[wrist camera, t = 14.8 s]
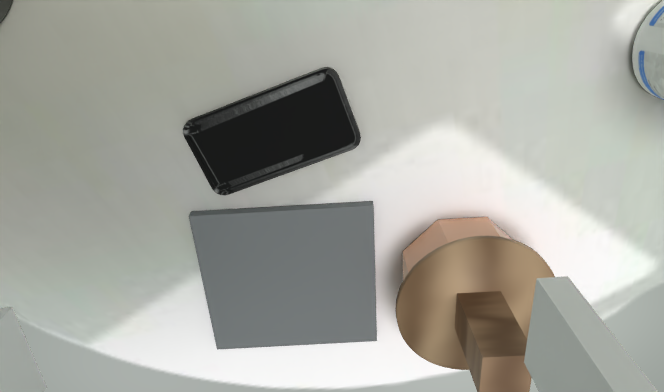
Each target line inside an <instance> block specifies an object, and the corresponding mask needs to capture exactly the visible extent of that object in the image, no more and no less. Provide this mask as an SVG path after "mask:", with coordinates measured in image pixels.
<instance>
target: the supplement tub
mask: <svg viewBox="0 0 664 392" xmlns="http://www.w3.org/2000/svg"><path fill="white" fill-rule="evenodd" d="M632 62H633V69H634V73H635V76H636V78H637V80H638V82H639V83H640V85H641V86H642V87H643V88H644V89H645V90H646V91H647V92H649V93H650V94H652V95H653V96H655V97H657V98H660V99H663V100H664V0H663V1H661V2H660V3H659V4H658V5H657V6H656V7H655V8H654V9H653V10H652V11H651V12H650V13H649V15H648V16H647V17H646V19H645V20H644V22H643V23H642V25H641V27H640V29H639V31H638V33H637V35H636V38H635V41H634V45H633V53H632Z"/></svg>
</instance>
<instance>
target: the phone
mask: <svg viewBox="0 0 664 392" xmlns="http://www.w3.org/2000/svg"><path fill="white" fill-rule="evenodd" d="M183 134H184V137H185V139H186V141H187V143H188V145H189V146H190V148H191V150H192V152H193V154H194V156H195V158H196V159H197V161H198V163H199V165H200V167H201V169H202V171H203V173H204V174H205V176H206V178H207V180H208V182H209V184H210V186H211V187H212V189H213V190H214V191H215V192H216V193H217V194H220V195H228V194H231V193H234V192H237V191H239V190H242V189H245V188H248V187H250V186H253V185H256V184H259V183H261V182H264V181H267V180H270V179H273V178H275V177H278V176H281V175H284V174H286V173H289V172H292V171H295V170H297V169H300V168H303V167H306V166H308V165H311V164H314V163H317V162H320V161H322V160H325V159H328V158H331V157H333V156H336V155H339V154H342V153H344V152H347V151H350V150H353V149H354V148H356V147H357V146H358V145H359V143H360V139H361V137H360V132H359V129H358V126H357V123H356V121H355V118H354V115H353V113H352V110H351V107H350V105H349V102H348V99H347V97H346V94H345V91H344V89H343V86H342V83H341V80H340V78H339V75H338V74H337V72H336V71H335V70H334V69H332V68H329V67H324V68H321V69H318V70H315V71H313V72H310V73H308V74H305V75H303V76H300V77H298V78H295V79H292V80H290V81H287V82H285V83H282V84H280V85H277V86H275V87H272V88H270V89H267V90H264V91H262V92H259V93H257V94H254V95H252V96H249V97H247V98H244V99H241V100H239V101H236V102H234V103H231V104H229V105H226V106H224V107H221V108H219V109H216V110H213V111H211V112H208V113H206V114H203V115H201V116H198V117H196V118H193V119H191V120H189V121H188V122H187V123H186V125H185V126H184V129H183Z"/></svg>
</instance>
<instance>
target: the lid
mask: <svg viewBox="0 0 664 392" xmlns="http://www.w3.org/2000/svg"><path fill="white" fill-rule="evenodd" d="M551 277H555V276H554V274H553V272H552V270H551V269H550V267H549V266H548V265H547V263H546V262H545V261H544V259H543V258H542V257H541V256H540V255H539V254H538V253H537V252H535V251H534V250H533V249H531V248H530V247H528V246H526V245H525V244H523V243H521V242H518V241H515V240H513V239H509V238H505V237H498V236H474V237H467V238H463V239H458V240H455V241H452V242H449V243H447V244H445V245H443V246H440V247H438V248H436V249H435V250H433V251H432V252H430V253H428V254H427V255H426V256H424V257H423V258H422V259H421V260H419V261H418V262H417V263H416V264H415V265H414V266H413V267H412V269H411V270H410V271H409V273H408V274H407V275H406V277H405V278H404V280H403V282H402V284H401V286H400V289H399V291H398V295H397V299H396V318H397V323H398V327H399V330H400V333H401V335H402V337H403V339H404V340H405V342H406V343H407V345H408V346H409V347H410V348H411V349H412V350H413V351H414V352H415V353H416V354H418V355H419V356H420V357H422V358H424V359H425V360H427V361H429V362H431V363H433V364H436V365H439V366H442V367H447V368H452V369H461V370H470V372H471V375H472V378H473V381H474V383H475V386H476V389H477V392H529V390H530V384H531V378H532V377H531V375H530V373H529V371H528V369H527V367H526V365H525V363H524V358H525V352H526V345H527V339H528V332H529V325H530V319H531V312H532V305H533V299H534V292H535V286H536V279H537V278H551Z"/></svg>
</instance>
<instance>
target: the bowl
mask: <svg viewBox="0 0 664 392" xmlns="http://www.w3.org/2000/svg"><path fill="white" fill-rule="evenodd" d="M474 236H498V237H505V238H509V239H511V238H510V237H509V236H508V235H507V234H506V233H505V232H504V231H503V230H501V229H500V228H499V227H498V226H497V225H496V224H495V223H494V222H492V221H491V220H490V219H489V218H488V217H474V218H457V219H439V220H437V221H436V222H434V223H433V224H432V225H431V226H430V227H429V228H428V229H427V230H426V231H425V232H423V233H422V234H421V235H420V236H419V237H418V238H417V239H416V240H415V241H413V242H412V243H411V244H410V245H409V246H408V247H407V248H406V249H405V250H403V280H404V278H405V277H406V275H407V274H408V273H409V271H410V270H411V269H412V267H413V266H414V265H415V264H416V263H417V262H418V261H419V260H421V259H422V258H423V257H424V256H426V255H427V254H428V253H430V252H432V251H433V250H435V249H436V248H438V247H440V246H443V245H445V244H447V243H449V242H452V241H455V240H458V239H463V238H467V237H474Z"/></svg>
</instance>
